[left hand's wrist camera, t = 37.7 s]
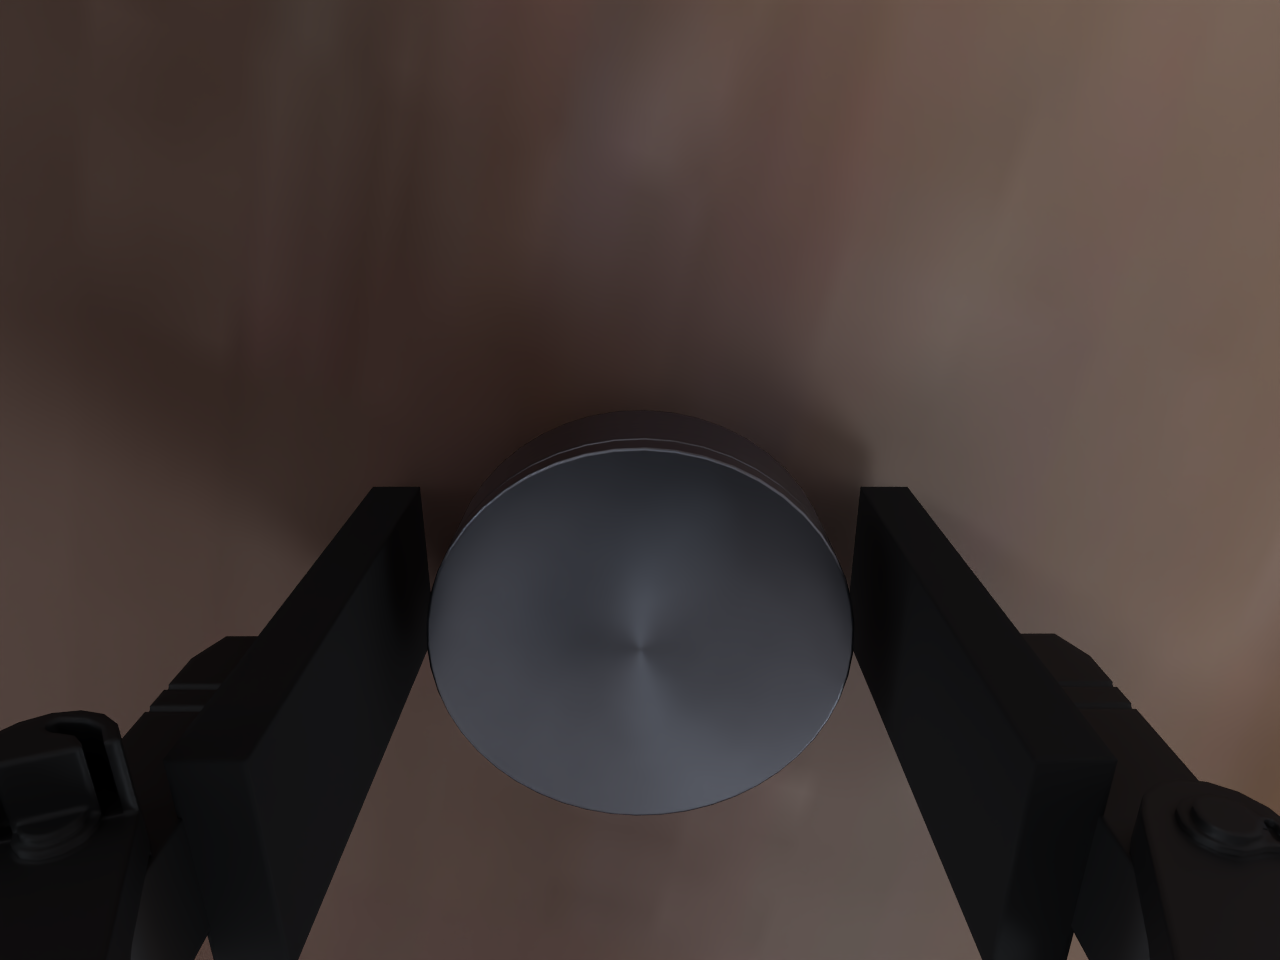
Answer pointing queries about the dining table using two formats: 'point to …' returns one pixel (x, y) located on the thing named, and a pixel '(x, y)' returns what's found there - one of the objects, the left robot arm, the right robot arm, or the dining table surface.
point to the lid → (640, 616)
